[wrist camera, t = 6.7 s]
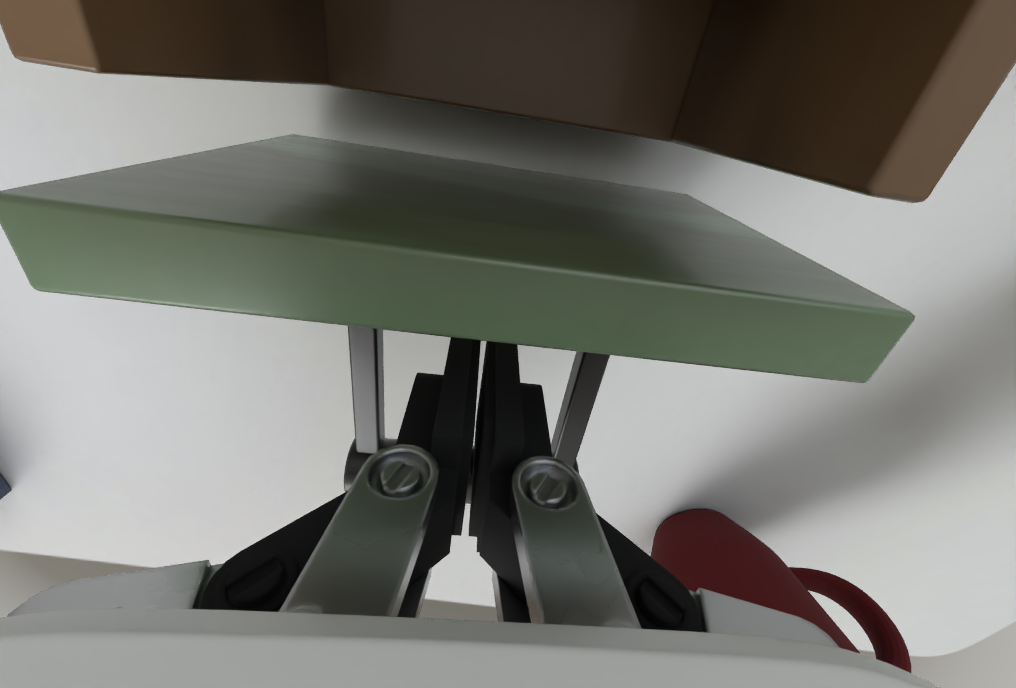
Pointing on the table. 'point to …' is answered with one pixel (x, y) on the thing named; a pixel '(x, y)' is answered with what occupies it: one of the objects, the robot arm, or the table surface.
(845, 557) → the table surface
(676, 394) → the table surface
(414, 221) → the drawer
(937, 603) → the table surface
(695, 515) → the mug
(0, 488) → the block
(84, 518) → the table surface
